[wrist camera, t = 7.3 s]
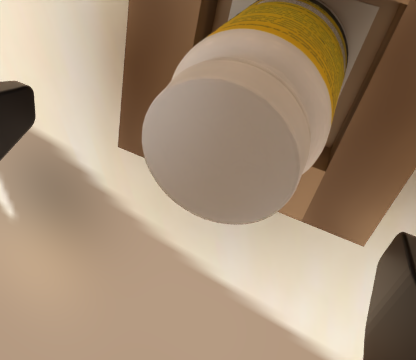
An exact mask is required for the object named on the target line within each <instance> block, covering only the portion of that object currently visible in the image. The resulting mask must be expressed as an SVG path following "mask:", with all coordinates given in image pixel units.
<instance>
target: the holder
mask: <svg viewBox="0 0 416 360" xmlns="http://www.w3.org/2000/svg"><path fill="white" fill-rule="evenodd" d="M256 1H257V0H129V7H128V21H127V34H126V47H125V60H124V74H123V87H122V100H121V114H120V127H119V140H118V147H119V148H122V149H124V150H127V151H129V152H132V153H134V154H137V155H139V156H141V157H144V153H143V147H142V127H143V123H144V119H145V115H146V113H147V111H148V109H149V107H150V105H151V104H152V102H153V100H154V99H155V98H156V97H157V96H158V95H159V94H160V93H161V92H162V91H163V90H164V89H165V88H166V87H167V86H168V84H169V83H170V82H171V80H172V77H173V75H174V72H175V70H176V68H177V66H178V65H179V63H180V62H181V60H182V59H183V58H184V56H185V55H186V54H187V53H188V52H189V51H190V50H191V49H192V48H193V47H194V46H195V45H196V44H197V43H198V42H199V41H201V40H202V39H204V38H205V37H206V36H208V35H209V34H211V33H212V32H214V31H215V30H216V29H218V28H219V27H221V26H222V25H223V24H224V23H226V22H227V21H229V20H230V19H232V18H233V17H235V16H236V15H237V14H239V13H240V12H242V11H243V10H245V9H246V8H247V7H248V6H250V5H251V4H253V3H254V2H256ZM320 1H321V2H323V3H324V4H326V5H327V6H328V7H329V8H330V9H331V10H332V11H333V12H334V13H335V14H336V16H337V17H338V18H339V20H340V22H341V23H342V25H343V27H344V30H345V33H346V36H347V40H348V49H349V57H348V64H347V69H346V73H345V76H344V80H343V83H342V87H341V91H340V94H339V98H338V102H337V105H336V109H335V113H334V116H333V121H332V125H331V129H330V132H329V136H328V139H327V142H326V144H325V147H324V149H323V151H322V153H321V154H320V156H319V157H318V159H317V160H316V162H315V163H314V164H313V165H312V166H311V167H310V169H309V170H307V171H306V172H305V173H304V174H302V176H301V179H300V181H299V184H298V186H297V189H296V191H295V192H294V194H293V195H292V197H291V199H290V200H289V201H288V202H287V203H286V204H285V205H284V206H283V207H282V208H281V209H280V210H279V211H278V212H280V213H282V214H285V215H287V216H289V217H292V218H294V219H297V220H299V221H302V222H304V223H307V224H309V225H312V226H314V227H317V228H319V229H322V230H324V231H326V232H329V233H331V234H334V235H336V236H339V237H341V238H344V239H346V240H349V241H351V242H354V243H356V244H359V245H361V246H363V247H364V245H365V244H366V242H367V241H368V239H369V238H370V236H371V235H372V233H373V232H374V230H375V229H376V227H377V225H378V224H379V222H380V221H381V219H382V218H383V216H384V215H385V213H386V212H387V210H388V209H389V207H390V206H391V204H392V203H393V201H394V200H395V198H396V197H397V195H398V194H399V192H400V191H401V189H402V188H403V186H404V185H405V183H406V182H407V180H408V179H409V177H410V176H411V174H412V173H413V171H414V170H415V168H416V0H320ZM144 158H145V157H144Z"/></svg>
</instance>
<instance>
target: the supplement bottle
mask: <svg viewBox="0 0 416 360" xmlns="http://www.w3.org/2000/svg"><path fill="white" fill-rule="evenodd" d="M348 57H349V49H348V40H347V36H346V33H345V30H344V27H343V25H342V23H341V22H340V20H339V18H338V17H337V16H336V14H335V13H334V12H333V11H332V10H331V9H330V8H329V7H328V6H327V5H326V4H324V3H323V2H321V1H320V0H257V1H256V2H254V3H253V4H251V5H250V6H248V7H247V8H246V9H245V10H243V11H242V12H240V13H239V14H237V15H236V16H235V17H233V18H232V19H230V20H229V21H227V22H226V23H224V24H223V25H222V26H221V27H219V28H218V29H216V30H215V31H214V32H212V33H211V34H209V35H208V36H206V37H205V38H204V39H202V40H201V41H199V42H198V43H197V44H196V45H195V46H194V47H193V48H192V49H191V50H190V51H189V52H188V53H187V54H186V55H185V56H184V58H183V59H182V60H181V62H180V63H179V65H178V66H177V68H176V70H175V72H174V75H173V77H172V80H171V82H170V83H169V84H168V86H167V87H166V88H165V89H164V90H163V91H162V92H161V93H160V94H159V95H158V96H157V97H156V98H155V99H154V100H153V102H152V104H151V105H150V107H149V109H148V111H147V113H146V115H145V119H144V123H143V127H142V147H143V153H144V157H145V160H146V163H147V165H148V168H149V170H150V172H151V174H152V175H153V177H154V179H155V180H156V182H157V183H158V185H159V186H160V187H161V188H162V190H163V191H164V192H165V193H166V194H167V195H168V196H169V197H170V198H171V199H172V200H173V201H174V202H176V203H177V204H178V205H180V206H181V207H183V208H184V209H185V210H187V211H189V212H191V213H192V214H194V215H196V216H199V217H201V218H204V219H207V220H210V221H213V222H218V223H223V224H249V223H254V222H257V221H260V220H263V219H265V218H268V217H270V216H272V215H273V214H275V213H276V212H278V211H279V210H280V209H281V208H282V207H283V206H284V205H285V204H286V203H287V202H288V201H289V200H290V199H291V197H292V195H293V194H294V192H295V191H296V189H297V186H298V184H299V181H300V179H301V176H302V174H304V173H305V172H306V171H307V170H309V169H310V167H311V166H312V165H313V164H314V163H315V162H316V160H317V159H318V157H319V156H320V154H321V153H322V151H323V149H324V147H325V144H326V142H327V139H328V136H329V132H330V129H331V125H332V121H333V116H334V113H335V109H336V105H337V102H338V98H339V94H340V91H341V87H342V83H343V80H344V76H345V73H346V69H347V64H348Z"/></svg>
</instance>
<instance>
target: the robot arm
mask: <svg viewBox="0 0 416 360" xmlns="http://www.w3.org/2000/svg"><path fill="white" fill-rule="evenodd" d="M34 121H35V103H34V92H33V90H32V88H31V87H30V86H28V85H25V84H23V83H20V82H18V81H5V82H0V160H1V159H2V158H3V157H4V156H5V155H6V154H7V153H8V152H9V151H10V150H11V148H12V147H13V146H14V145H15V144H16V143H17V142H18V141H19V140H20V139H21V138H22V136H23V135H24V134H25V133H26V132H27V131H28V130H29V129H30V128H31V127H32V125H33V123H34ZM363 360H416V237H415V236H413V235H410V234H407V233H405V232H401V233H399V234H398V235H397V236H396V237H395V238H394V240H393V241H392V243H391V244H390V245H389V247H388V248H387V249H386V251H385V252H384V254H383V255H382V257H381V258H380V260H379V263H378V266H377V270H376V275H375V280H374V286H373V291H372V296H371V301H370V306H369V311H368V316H367V322H366V328H365V339H364V356H363Z"/></svg>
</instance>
